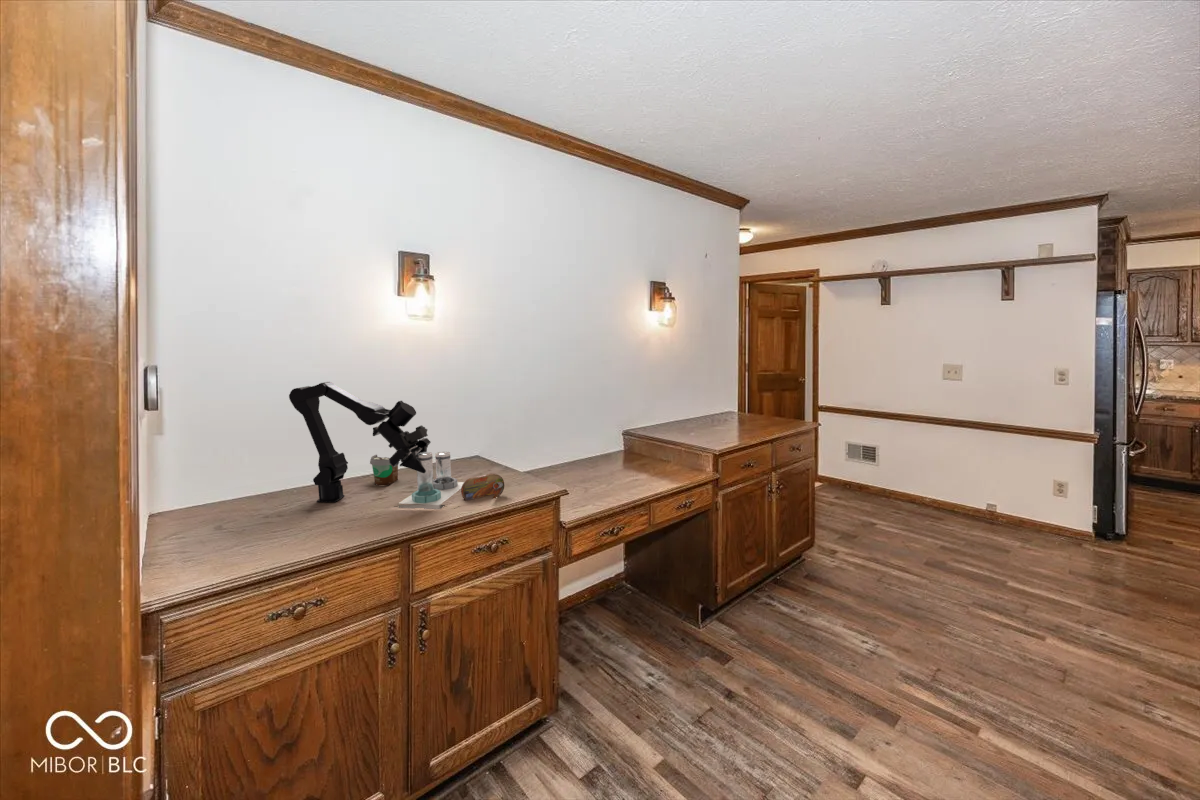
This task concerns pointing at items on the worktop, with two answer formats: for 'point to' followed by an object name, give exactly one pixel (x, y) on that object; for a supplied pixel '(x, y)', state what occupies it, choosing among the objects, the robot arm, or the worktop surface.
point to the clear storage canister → (425, 478)
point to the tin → (482, 486)
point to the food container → (383, 471)
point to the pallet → (432, 504)
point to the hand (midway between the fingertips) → (428, 470)
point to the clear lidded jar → (443, 467)
